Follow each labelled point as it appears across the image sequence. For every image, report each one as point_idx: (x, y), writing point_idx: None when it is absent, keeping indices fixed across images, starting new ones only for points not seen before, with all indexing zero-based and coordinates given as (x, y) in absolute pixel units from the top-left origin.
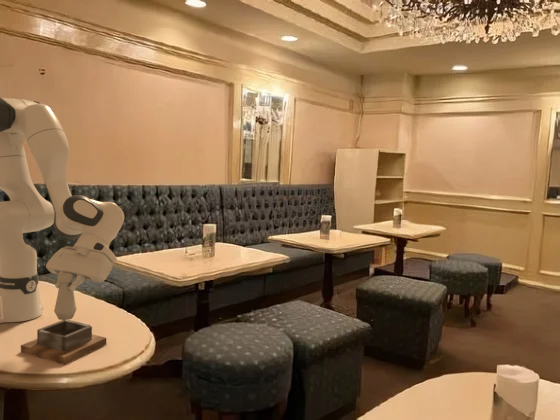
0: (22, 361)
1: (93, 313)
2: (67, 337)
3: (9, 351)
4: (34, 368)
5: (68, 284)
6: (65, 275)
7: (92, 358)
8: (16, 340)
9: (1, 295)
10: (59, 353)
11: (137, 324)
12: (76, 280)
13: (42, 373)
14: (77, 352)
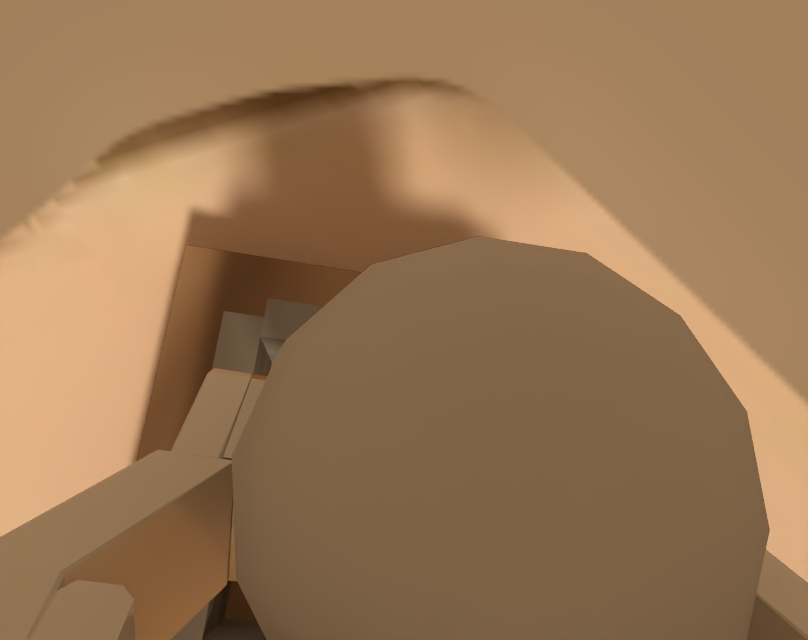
0: (477, 215)
1: None
2: (221, 325)
3: None
4: (338, 160)
5: None
6: (392, 316)
7: (60, 419)
8: (786, 482)
9: None
10: (261, 289)
11: None
12: (80, 512)
13: (246, 122)
14: (159, 372)
